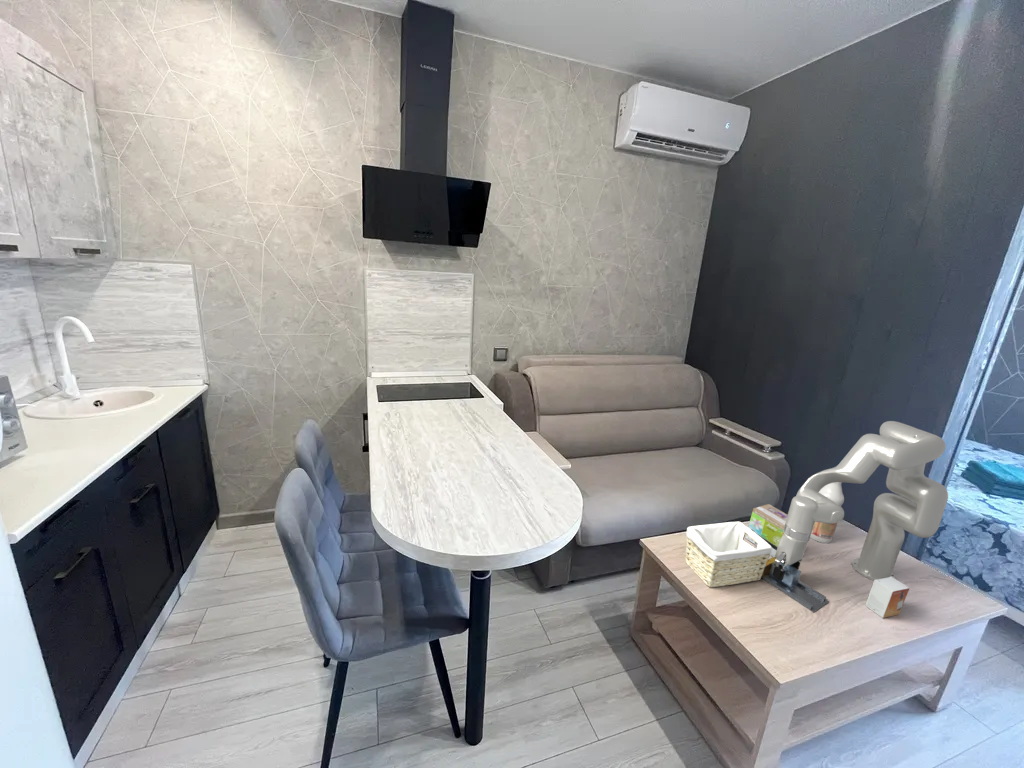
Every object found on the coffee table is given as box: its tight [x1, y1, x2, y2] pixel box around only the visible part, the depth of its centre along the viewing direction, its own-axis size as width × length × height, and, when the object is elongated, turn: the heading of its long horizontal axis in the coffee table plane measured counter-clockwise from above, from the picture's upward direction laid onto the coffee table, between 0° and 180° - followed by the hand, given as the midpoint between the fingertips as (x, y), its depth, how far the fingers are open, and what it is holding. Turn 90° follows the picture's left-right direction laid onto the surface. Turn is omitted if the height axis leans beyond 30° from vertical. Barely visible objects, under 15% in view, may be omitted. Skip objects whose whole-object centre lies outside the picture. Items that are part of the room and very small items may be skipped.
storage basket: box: [685, 521, 771, 588], centre depth 150 cm, size 24×16×15 cm
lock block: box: [769, 560, 802, 590], centre depth 148 cm, size 5×7×6 cm
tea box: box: [745, 503, 788, 561], centre depth 165 cm, size 15×10×15 cm
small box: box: [865, 577, 910, 619], centre depth 137 cm, size 8×6×10 cm
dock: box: [760, 556, 830, 613], centre depth 145 cm, size 10×18×5 cm, turn 30°
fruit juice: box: [810, 482, 845, 544], centre depth 173 cm, size 9×9×28 cm
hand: (785, 573), depth 147 cm, fingers open, 9 cm apart
